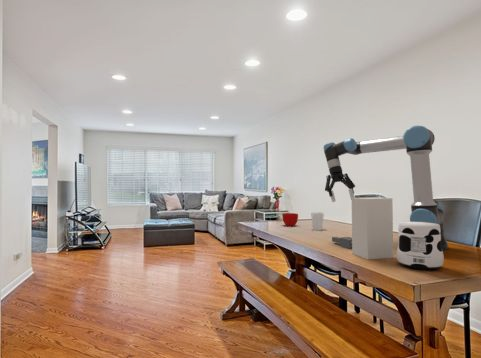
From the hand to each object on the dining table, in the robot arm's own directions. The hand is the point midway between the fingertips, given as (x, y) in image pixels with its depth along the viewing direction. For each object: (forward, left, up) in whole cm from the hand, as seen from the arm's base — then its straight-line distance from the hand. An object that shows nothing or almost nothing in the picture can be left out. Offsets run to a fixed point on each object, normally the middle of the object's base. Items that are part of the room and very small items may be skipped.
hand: (343, 200), depth 187 cm
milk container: (-36, +44, -25) cm, 62 cm away
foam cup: (+25, -43, -25) cm, 56 cm away
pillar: (-17, +31, -25) cm, 43 cm away
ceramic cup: (+50, -58, -25) cm, 80 cm away
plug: (-1, +11, -25) cm, 28 cm away
